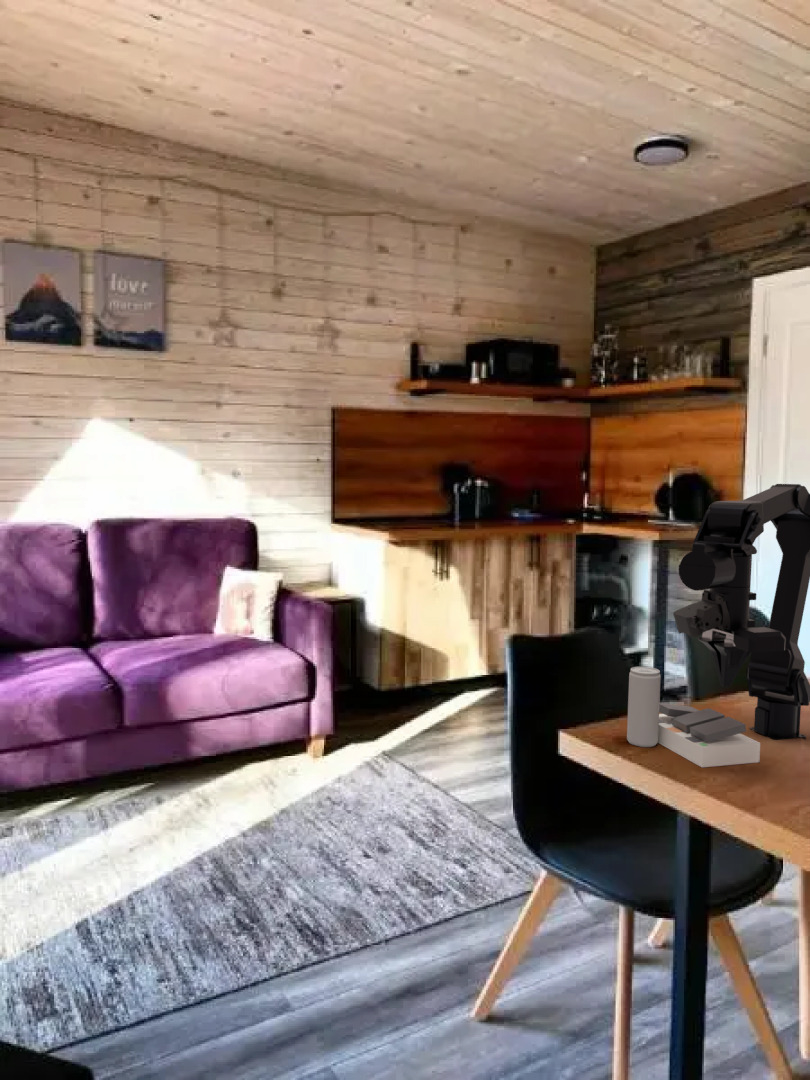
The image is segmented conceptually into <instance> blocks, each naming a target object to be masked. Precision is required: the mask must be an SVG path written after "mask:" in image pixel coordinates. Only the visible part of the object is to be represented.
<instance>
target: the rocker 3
mask: <svg viewBox="0 0 810 1080" xmlns="http://www.w3.org/2000/svg"><path fill="white" fill-rule="evenodd" d="M690 733H691V735H692V736H694V737H696V738H698V739H700V740H702V741H704V742H706V743H707V742H711V741H714V740H718V739H722V738H725V737H729V736H732V735H736V734H743V733H747V727H746V724H745V722H744V723H743V721H739V720H737V719H736V718H735V719H734V718H733V717H731V716H727V717H726V716H725V718H722V719H718V720H715V721H711V722H707V723H704V724H700V725H696V726H693V727H690Z"/></svg>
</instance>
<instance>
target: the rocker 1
mask: <svg viewBox="0 0 810 1080" xmlns="http://www.w3.org/2000/svg"><path fill="white" fill-rule="evenodd" d="M696 711H700V709H697V708H695V707H692V706H689V705H680V704H674V703H673V704H671V703H665V702H660V704H659V713H660V714H665V715H667V716H671V717H677V716H681V715H685V714H688V713H692V712H696Z"/></svg>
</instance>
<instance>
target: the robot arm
mask: <svg viewBox="0 0 810 1080" xmlns="http://www.w3.org/2000/svg"><path fill="white" fill-rule="evenodd" d="M769 522H771V523H772V525H773V526H774V528H775V529H776V531H775V532H776V533H775V539H776V541H777V543H778V546H779V549H780V551H781V553H782V556H781V561H780V567H779V571H778V572H779V573H778V577H777V583H776V589H775V593H774V598H773V603H772V609H771V613H770V618H769V624H768V627H765V626H761V627H756V620H754V619H750V608H751V607H750V605H751V604H750V602H751V601H756V600H757V593H756V592H752V591H751V583H752V582H751V581H752V564H753V563H752V561H753V555H756V554H757V553H758V550H757V548H756V546H754V542H756V539H757V538H758V537H759V536H760V535H762V533H764V530H765V529H764V527H765V525H766V524H767V523H769ZM691 547H692V548H691V549H692V550H691V551H690V552H687V553H686V554H685V555H684V556H683V557H682V559H681V560H680V563H679V565H678V575H679V579H680V581H681V582H682V583H683V584H684V586H685V587H687V588H688V589H690V590H692V591H697V592H699V591H703V592H702V593H701V600H700V601H697V602H694V603H691V604H688V605H686V606H684V607H681V608H679V609H677V610H675V611H673V612H672V614H673V617H674V618H673V619H674V621H675V625H676V630H677V632H678V633H679V634H685V635H688V637H690V638H691V637H692V638H695V637H697V639H698V641H699V642H701V643H703V645H704V646H705V647H706V648H707V649H708V650H709V651H710V654H711V657H712V659H713V662H714V666H715V670H716V672H717V675H718V676H717V677H718V680H719V684H720V686H722V687H724V688H729V687H731V686H732V683H733V682H734V680H735V679H736V677H737V675H738V674H739V671H740V670H741V668H742V667H743V665H744V664H745V662H746V661H747V659H748V658H749V656H750V658H749V659H750V660H749V662H748V665H747V667H746V672H745V674H746V675H745V676H746V677H745V678H746V682H747V683H746V684H747V690H748V692H747V693H748V696H749V697H754V698H757V699H756V700H757V701H756V702H757V703H756V707H755V708H754V724H753V726H752V727H749V729H750V730H751V731H753V732H755V733H758V734H760V735H762V736H764V737H767V738H769V739H771V740H772V741H773V740H774V741H779V740H792V739H803V740H806V739H807V735H805V734H803V733H801V732H800V731H801V729H800V727H801V712H802V710H801V708H802V707H803V706H805V707H808V706H810V681H809V680H808V678H807V675H806V673H805V664H806V661H805V659H804V656H803V655H802V652H801V650H800V647H799V644H798V643H799V637H800V632H801V626H802V621H803V615H804V611H805V607H806V599H807V595H808V590H809V586H810V493H809V490H808V489H807V487H806V486H805V485H801V484H800V483H797V484H796V483H776V484H773V485H771V486H770V488H768V489H765V490H763V491H761V492H758V493H756V494H754V495H751V496H749V497H746V498H745V499H742V500H719V501H714V502H712V503H711V504H710V505H709V506H708V509H707V510H706V511H705V512H704V516H703V518H702V521H701V524H700V525H699V528H698V530H697V532H696V535H695V537H694V540H693V542H692V546H691ZM699 636H700V637H699Z"/></svg>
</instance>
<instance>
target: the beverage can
mask: <svg viewBox="0 0 810 1080" xmlns="http://www.w3.org/2000/svg"><path fill="white" fill-rule="evenodd" d="M660 673H661V671H660V670H659V669H658V668H654V667H649V666H648V667H647V666H634V667H631V668H630V672H629V674H628V675H629V676H628V697H627V699H628V701H627V723H626V724H627V729H626V740H627V741H628V743H629V744H630V745H633V746H636V747H641V748H653V747H655V746H656V745H657V744H659V743H658V728H659V714H660V712H659V704H660V703H661V702H660V701H661V699H660V698H661V674H660Z"/></svg>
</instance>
